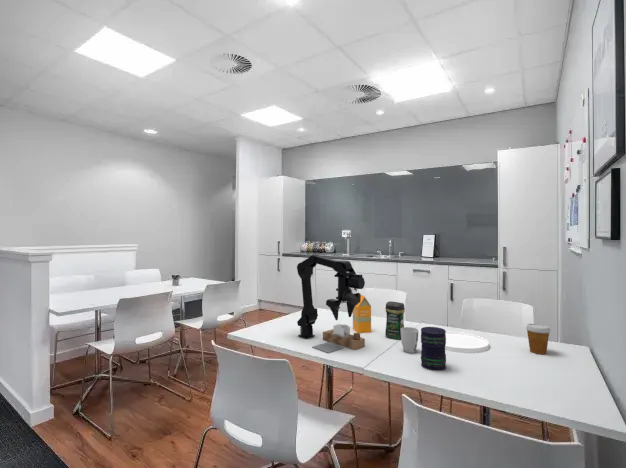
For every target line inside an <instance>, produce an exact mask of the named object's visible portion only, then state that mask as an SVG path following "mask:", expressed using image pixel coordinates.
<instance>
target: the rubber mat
mask: <svg viewBox="0 0 626 468" xmlns="http://www.w3.org/2000/svg"><path fill="white" fill-rule="evenodd" d="M311 348H312V349H315V350H318V351H320V352H323V353H326V354H331V353H333V352H336V351H339V350H342V349H345V347H344V346H341V345H338V344H335V343H332V342H329V341H326V342H324V343H319V344H317V345H313V346H311Z"/></svg>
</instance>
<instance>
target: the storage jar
mask: <svg viewBox="0 0 626 468" xmlns="http://www.w3.org/2000/svg"><path fill="white" fill-rule="evenodd" d="M446 331H447V330H446V329H444V328H441V327H436V326H424V327H421V328H420V342H421V351H420V360H421V363H420V365H421V367H422V368H423V369H426V370H429V371H432V372H433V371H435V372H439V371H445V370H446V368H447V365H446V363H447V353H446V350H445V345H446V334H445V333H446Z"/></svg>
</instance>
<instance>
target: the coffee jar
mask: <svg viewBox="0 0 626 468" xmlns="http://www.w3.org/2000/svg"><path fill="white" fill-rule="evenodd" d="M384 311H385V314H386V324H385V337H387V338H390V339H393V340H401V330H400V329H401V328H403V327H405V324H404V315H405V304H404V303H403V302H399V301H398V302H397V301H387V302H386V303H385V310H384Z"/></svg>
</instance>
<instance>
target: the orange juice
mask: <svg viewBox="0 0 626 468" xmlns="http://www.w3.org/2000/svg"><path fill="white" fill-rule="evenodd" d="M352 330H353V331H355V333H360V334H366V333H367V334H368V333H372V305H371V304H370V303H369V301H368V299H367V298H366V297H365V295H362V294H361V300H360V303H359V304H357V305H356V306H355V307H354V309H353V312H352Z"/></svg>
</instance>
